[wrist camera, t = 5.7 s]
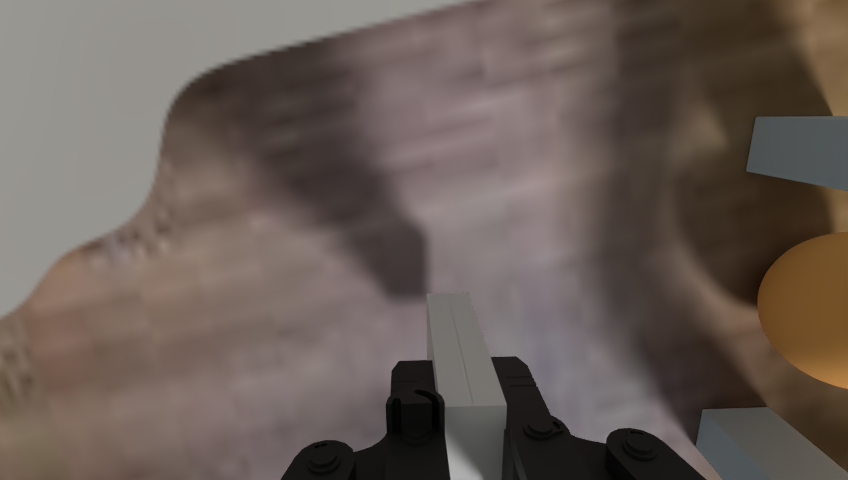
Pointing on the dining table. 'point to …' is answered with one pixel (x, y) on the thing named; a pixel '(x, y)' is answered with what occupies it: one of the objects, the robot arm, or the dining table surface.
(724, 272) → the dining table surface
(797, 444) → the bridge
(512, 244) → the dining table surface
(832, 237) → the ball
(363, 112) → the dining table surface
